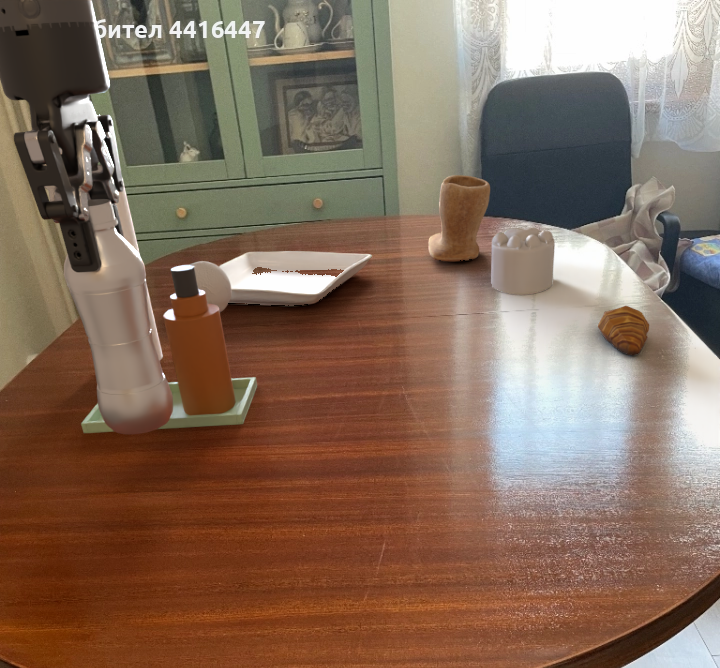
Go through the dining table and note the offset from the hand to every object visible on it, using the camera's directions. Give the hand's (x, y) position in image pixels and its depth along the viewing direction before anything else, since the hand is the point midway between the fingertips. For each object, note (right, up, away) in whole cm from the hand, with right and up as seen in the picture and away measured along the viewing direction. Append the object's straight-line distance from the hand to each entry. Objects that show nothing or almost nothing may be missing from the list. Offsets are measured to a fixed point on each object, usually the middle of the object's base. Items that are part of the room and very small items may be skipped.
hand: (100, 259), depth 60 cm
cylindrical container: (-11, -1, +46) cm, 48 cm away
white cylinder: (+2, -3, +41) cm, 42 cm away
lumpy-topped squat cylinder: (+50, +16, +66) cm, 84 cm away
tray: (-1, -10, +30) cm, 32 cm away
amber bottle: (+3, -9, +30) cm, 31 cm away
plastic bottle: (+1, -13, +8) cm, 16 cm away
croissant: (+57, +1, +39) cm, 69 cm away
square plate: (+7, +17, +75) cm, 77 cm away
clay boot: (+41, +26, +85) cm, 98 cm away
